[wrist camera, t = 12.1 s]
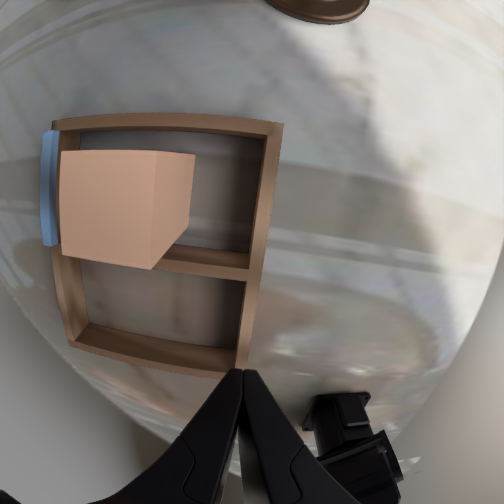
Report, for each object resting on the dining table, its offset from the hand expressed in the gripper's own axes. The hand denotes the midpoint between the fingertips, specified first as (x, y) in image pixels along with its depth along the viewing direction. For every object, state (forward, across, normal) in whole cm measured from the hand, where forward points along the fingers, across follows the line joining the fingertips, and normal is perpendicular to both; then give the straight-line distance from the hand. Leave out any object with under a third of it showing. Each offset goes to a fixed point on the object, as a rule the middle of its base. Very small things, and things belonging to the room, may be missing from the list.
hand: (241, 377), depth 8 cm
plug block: (+12, +7, -4) cm, 14 cm away
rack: (+12, +7, 0) cm, 14 cm away
